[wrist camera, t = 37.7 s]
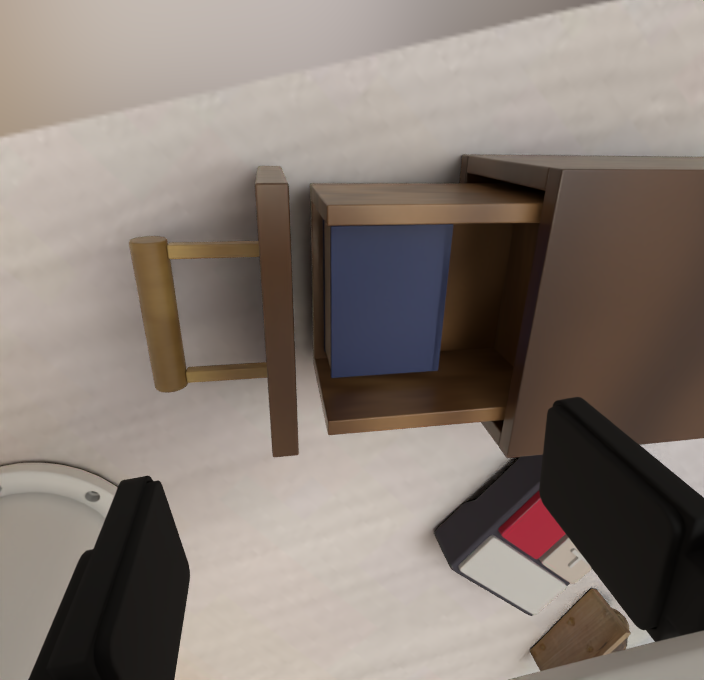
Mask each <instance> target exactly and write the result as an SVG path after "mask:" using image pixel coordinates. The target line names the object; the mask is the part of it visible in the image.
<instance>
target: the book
mask: <svg viewBox="0 0 704 680" xmlns="http://www.w3.org/2000/svg"><path fill="white" fill-rule="evenodd" d="M452 234H453V224H425V225H359V226H328V225H327V224H326V223H325V221H324V219H323V307H324V352H326V354H327V358H328V361H329V365H330V369H331V378H339V377H354V376H368V375H383V374H397V373H412V372H426V371H438V367H439V357H440V348H441V338H442V329H443V319H444V310H445V300H446V291H447V281H448V272H449V262H450V253H451V243H452Z"/></svg>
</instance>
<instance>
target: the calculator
mask: <svg viewBox="0 0 704 680" xmlns="http://www.w3.org/2000/svg"><path fill="white" fill-rule="evenodd" d="M542 458H543V454H542V455H532V456H523V457H520V458H519V459H518V460H517V461H516V462H515V463H514V464H512V465H511V466H510V467H509V468H508V469H507V470H506V471H505V472H504V473H503V474H502V475H501V476H500V477H499V478H498V479H497V480H496V481H495V482H494V483H493V484H492V485H491V486H490V487H489V488H488V489H487V490H485V491H484V492H483V493H482V494H481V495H480V496H479V497H478V498H477V499H476V500H473V501H469V502H465V503H463V504H462V505H461V506H460V507H459V508H458V509H457V510H456V511H455V512H454V513H453V514H452V515H451V516H450V517H449V518H448V519H447V520H446V521H445V522H444V523H443V524H442V525H441V526H440V527H438V528H437V530H436V531H435V533H434V534H435V537H436V539H437V541H438V543H439V545H440V547H441V550H442V552H443V554H444V556H445V558H446V560H447V562H448V564H449V566H450V568H451V569H452V570H453V571H455V572H456V573H458V574H460V575H462V576H463V577H465V578H467V579H468V580H470V581H472V582H473V583H475V584H477V585H478V586H480V587H482V588H484V589H485V590H487V591H489V592H490V593H492V594H494V595H495V596H497V597H499V598H501V599H502V600H504V601H506V602H507V603H509V604H511V605H512V606H514V607H516V608H517V609H519V610H521V611H523V612H524V613H526V614H528V615H530V616H532V615H536V614H538V613H539V612H540V611H541V610H542V609H544V608H545V607H546V606H547V605H548V604H549V603H550V602H552V601H553V600H554V599H555V598H556V597H557V596H558V595H559V594H561V593H562V592H563V591H564V590H565V589H566V588H567V586H568V585H569V584H570V583H571V584H575V583H577V582H578V581H579V580H580V579H581V578H582V577H584V576H585V575H586V574H587V573H588V572H589V571H590V570H591V569H592V568H591V566H590V565H589V564H588V562H587V561H586V560H585V558H584V557H583V556H582V555H581V553H580V552H579V551H578V549H577V548H576V547H575V545H574V544H573V543H572V541H571V540H570V539H569V537H568V536H567V535H566V534H565V532H564V531H563V530H562V528H561V527H560V526H559V524H558V523H557V522H556V520H555V519H554V518H553V517H552V515H551V514H550V513H549V511H548V510H547V509H546V507H545V506H544V504H543V503H542V501H541V498H540V494H539V486H540V477H541V468H542Z"/></svg>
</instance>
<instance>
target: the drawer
mask: <svg viewBox="0 0 704 680" xmlns="http://www.w3.org/2000/svg"><path fill="white" fill-rule="evenodd" d="M255 197H256V212H257V227H258V241H222V242H172V243H169V244H168V241H167V239H166V238H165V237H160V236H144V237H137V238H134V239H131V240H130V241H129V247H130V252H131V258H132V263H133V269H134V274H135V280H136V285H137V291H138V296H139V302H140V307H141V313H142V318H143V323H144V329H145V334H146V340H147V345H148V351H149V356H150V362H151V367H152V373H153V378H154V384H155V388H156V389H157V390H158V391H160V392H175V391H178V390H181V389H183V388H184V387H186V386H187V384H188V383H191V382H207V381H222V380H237V379H252V378H268V393H269V408H270V423H271V438H272V453H273V457H283V456H293V455H298V454H299V448H298V421H297V394H296V368H295V341H294V314H293V288H292V261H291V234H290V208H289V185H288V182H287V180H286V177H285V175H284V173H283V170H282V168H281V167H280V166H259V167H258V169H257V175H256V181H255ZM544 197H545V191H544V190H540V189H535V188H531V187H527V186H522V185H518V184H514V183H311V184H310V209H311V261H312V313H313V364H314V369H315V374H316V379H317V383H318V388H319V393H320V398H321V403H322V408H323V413H324V418H325V422H326V427H327V432H328V435H336V434H347V433H359V432H370V431H382V430H393V429H405V428H416V427H428V426H439V425H450V424H462V423H473V422H485V421H496V420H504V417H505V411H506V406H507V400H508V395H509V389H510V384H511V378H512V373H513V367H514V362H515V356H516V351H517V345H518V340H519V334H520V329H521V323H522V318H523V312H524V307H525V301H526V296H527V290H528V285H529V279H530V274H531V268H532V263H533V257H534V252H535V246H536V241H537V235H538V230H539V224H540V219H541V213H542V208H543V202H544ZM323 219H324V221H325V223H326V224H327V225H328V226H359V225H425V224H453V234H452V243H451V253H450V262H449V272H448V281H447V291H446V300H445V310H444V319H443V329H442V338H441V348H440V357H439V367H438V371H426V372H412V373H397V374H383V375H368V376H354V377H339V378H331V369H330V365H329V361H328V358H327V354H326V352H324V307H323ZM236 257H260V272H261V287H262V302H263V317H264V332H265V348H266V362H261V363H245V364H229V365H212V366H196V367H187V370H186V363H185V356H184V349H183V343H182V336H181V329H180V322H179V315H178V309H177V302H176V295H175V288H174V281H173V275H172V268H171V261H170V259H196V258H236Z"/></svg>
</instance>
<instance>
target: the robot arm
mask: <svg viewBox="0 0 704 680" xmlns="http://www.w3.org/2000/svg"><path fill="white" fill-rule="evenodd" d="M539 494H540V498H541V501H542V503H543V504H544V506H545V507H546V509H547V510H548V511H549V513H550V514H551V515H552V517H553V518H554V519H555V520H556V522H557V523H558V524H559V526H560V527H561V528H562V530H563V531H564V532H565V534H566V535H567V536H568V537H569V539H570V540H571V541H572V543H573V544H574V545H575V547H576V548H577V549H578V551H579V552H580V553H581V555H582V556H583V557H584V558H585V560H586V561H587V562H588V564H589V565H590V566H591V568H592V569H593V570H594V572H595V573H596V574H597V575H598V577H599V578H600V579H601V581H602V582H603V583H604V585H605V586H606V587H607V589H608V590H609V591H610V592H611V594H612V595H613V596H614V598H615V599H616V600H617V602H618V603H619V604H620V606H621V607H622V608H623V610H624V611H625V612H626V613H627V615H628V616H629V617H630V619H631V620H632V621H633V623H634V624H635V625H636V626H637V627H638V628H640V629H642V630H646V631H647V632H648V633H649V635H650V636H651V637H652V638H653V640H654V641H655V642H653V643H649V644H645V645H641V646H637V647H633V648H629V649H626V650H622V651H618V652H614V653H610V654H606V655H602V656H598V657H594V658H590V659H586V660H583V661H579V662H575V663H571V664H567V665H563V666H559V667H555V668H551V669H547V670H544V671H540V672H536V673H532V674H528V675H524V676H521V677H517V678H513V679H509V680H704V498H703V497H702V496H701V495H700V494H698V493H697V492H696V491H695V490H694V489H692V488H691V487H690V486H689V485H687V484H686V483H685V482H684V481H683V480H681V479H680V478H679V477H678V476H677V475H675V474H674V473H673V472H672V471H670V470H669V469H668V468H667V467H666V466H664V465H663V464H662V463H661V462H660V461H658V460H657V459H656V458H655V457H653V456H652V455H651V454H650V453H649V452H647V451H646V450H645V449H644V448H642V447H641V446H640V445H639V444H638V443H636V442H635V441H634V440H633V439H632V438H630V437H629V436H628V435H627V434H625V433H624V432H623V431H622V430H621V429H619V428H618V427H617V426H616V425H614V424H613V423H612V422H611V421H610V420H608V419H607V418H606V417H605V416H604V415H602V414H601V413H600V412H599V411H597V410H596V409H595V408H594V407H593V406H591V405H590V404H589V403H588V402H587V401H585V400H584V399H583V398H581V397H573V398H567V399H562V400H557V401H555V402H554V404H553V407H551V408H549V409H548V412H547V420H546V430H545V439H544V449H543V458H542V468H541V477H540V486H539ZM189 580H190V570H189V564H188V561H187V558H186V555H185V552H184V549H183V546H182V543H181V540H180V537H179V534H178V531H177V528H176V525H175V522H174V519H173V516H172V513H171V510H170V507H169V504H168V501H167V498H166V495H165V492H164V489H163V486H162V484H161V482H160V481H153V480H152V478H151V477H150V476H144V477H138V478H133V479H128V480H123V481H121V482H120V484H119V486H118V487H116V486H115V485H113V484H111V483H110V482H108V481H106V480H105V479H103V478H101V477H99V476H97V475H94V474H92V473H89V472H87V471H84V470H81V469H77V468H73V467H69V466H65V465H60V464H50V463H17V464H12V465H6V466H1V467H0V680H174V678H175V671H176V665H177V658H178V652H179V646H180V639H181V633H182V626H183V620H184V613H185V607H186V601H187V594H188V588H189Z"/></svg>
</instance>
